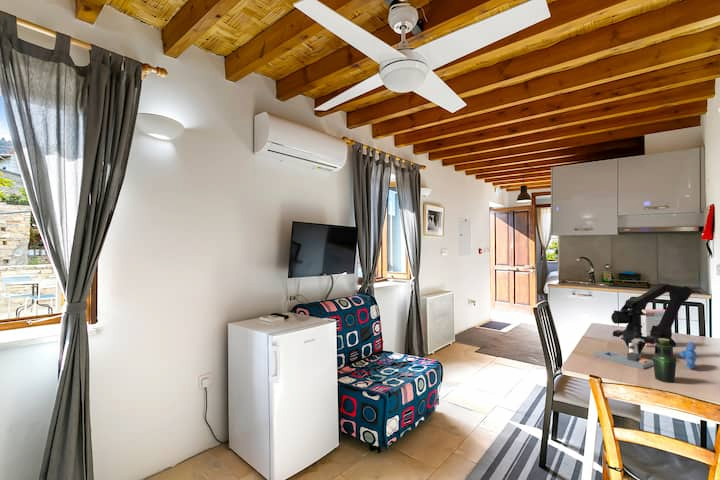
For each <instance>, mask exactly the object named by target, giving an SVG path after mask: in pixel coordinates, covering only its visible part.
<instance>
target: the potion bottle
mask: <svg viewBox="0 0 720 480" xmlns="http://www.w3.org/2000/svg"><path fill="white" fill-rule="evenodd" d="M669 341H670V340H669V339H664V338H659V343H657V344H656V347H658V348H659V351H660V353H657V354H655V353H654V354H653V355H652V361H653V370H654V378H655V379H656V380H657V381H660V382H663V383H674V382H675V381H676V380H675V379H676V369H677V368H676V367H677V361H678V360H677V359H676V358H675V357H673V356H674V355H673V356H671V355H670V354H668V353H669V350H670V349H673V350H674V347H672V345H670V344H669Z"/></svg>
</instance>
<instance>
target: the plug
mask: <svg viewBox="0 0 720 480" xmlns="http://www.w3.org/2000/svg"><path fill="white" fill-rule="evenodd" d="M638 347H639V344H638V342H634V341H632V342H631V343H629V349H628V353H631V352H634V353H638ZM638 354H639V353H638ZM641 354H642V352H641V353H640V358H641V357H642V355H641Z"/></svg>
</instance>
